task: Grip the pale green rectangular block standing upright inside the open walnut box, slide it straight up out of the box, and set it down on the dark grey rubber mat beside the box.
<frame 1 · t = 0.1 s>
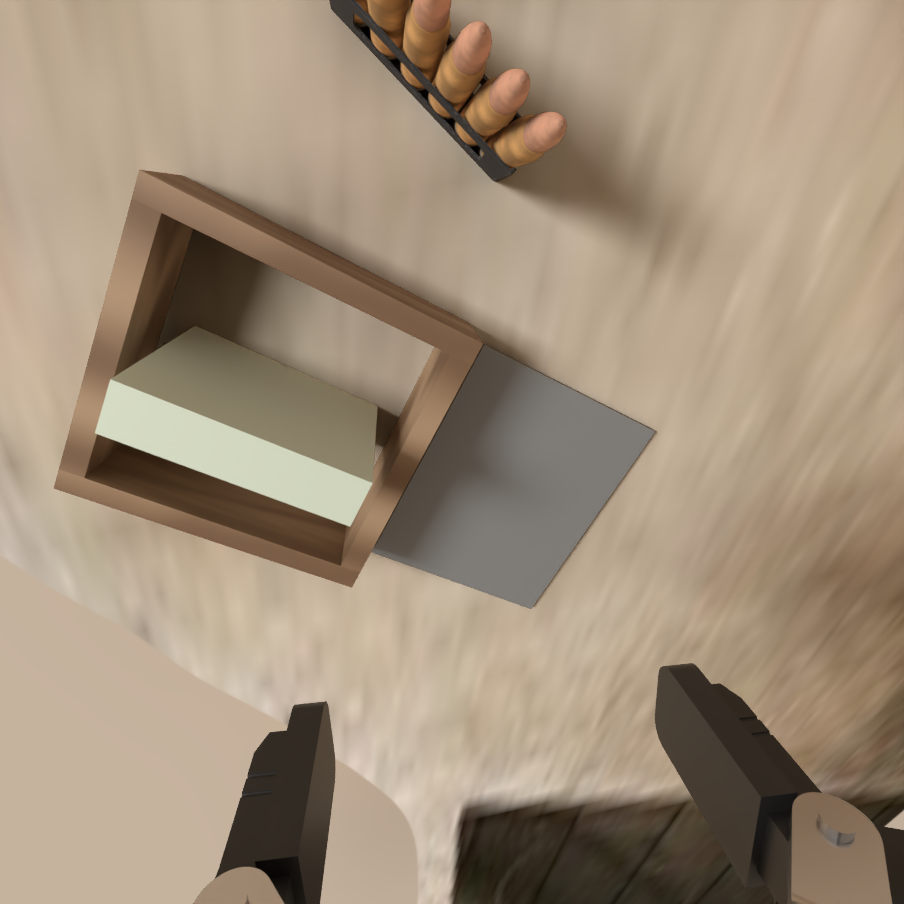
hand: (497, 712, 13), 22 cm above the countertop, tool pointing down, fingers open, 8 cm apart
rubber mat: (509, 491, 36), on the countertop
ammunition clip: (430, 86, 26), on the countertop
pale green rectangular block: (283, 386, 32), resting in walnut box
walnut box: (283, 386, 32), on the countertop
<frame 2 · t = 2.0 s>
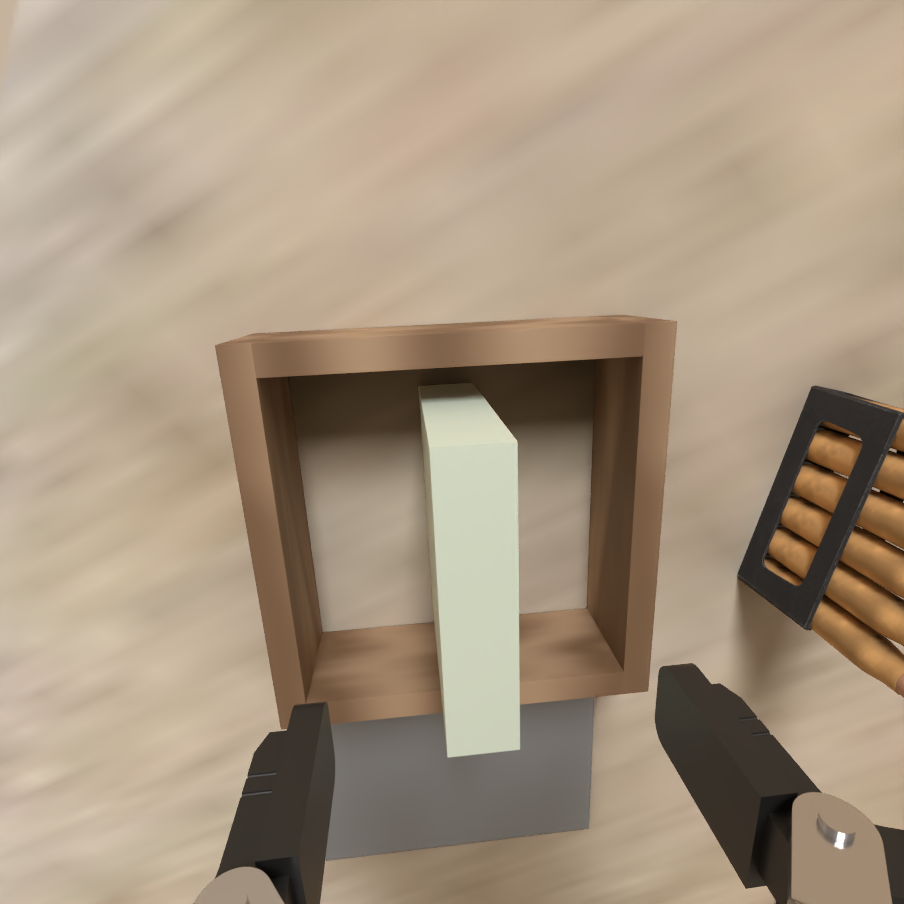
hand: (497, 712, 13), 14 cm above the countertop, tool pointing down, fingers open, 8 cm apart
rubber mat: (454, 755, 31), on the countertop
ammunition clip: (785, 487, 28), on the countertop
pale green rectangular block: (451, 495, 26), resting in walnut box
walnut box: (451, 496, 26), on the countertop
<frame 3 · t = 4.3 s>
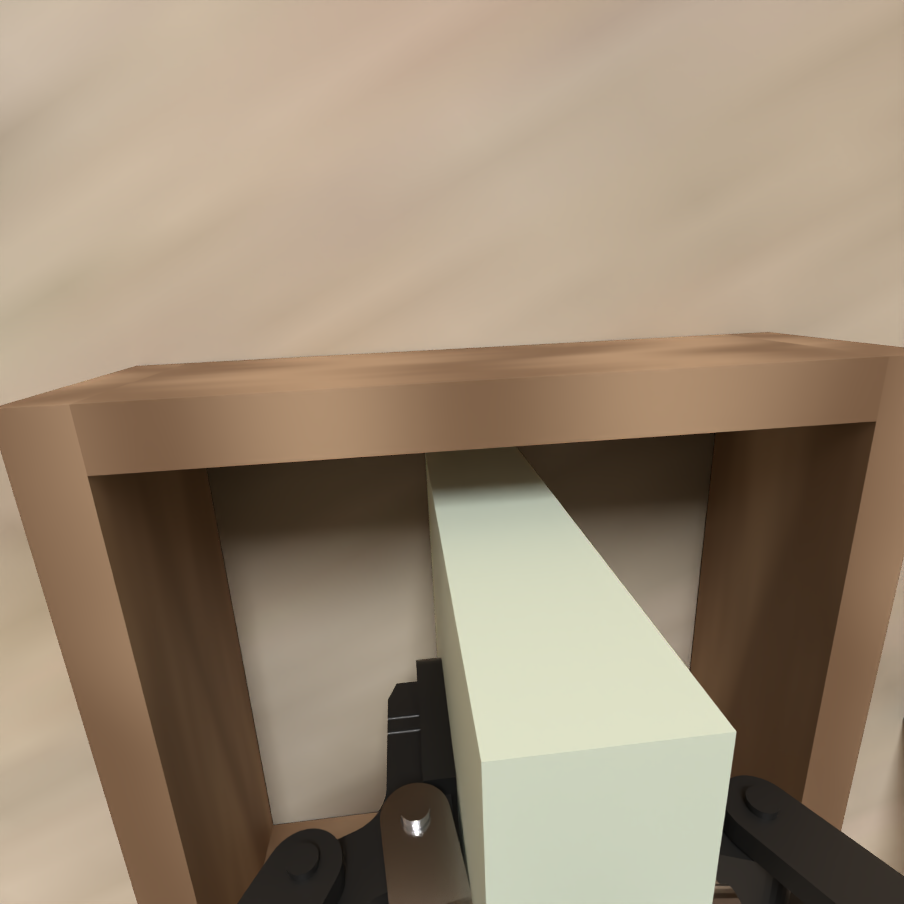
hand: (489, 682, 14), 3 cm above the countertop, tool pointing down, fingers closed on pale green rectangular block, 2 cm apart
pale green rectangular block: (476, 622, 16), resting in walnut box, touching gripper
walnut box: (476, 622, 16), on the countertop
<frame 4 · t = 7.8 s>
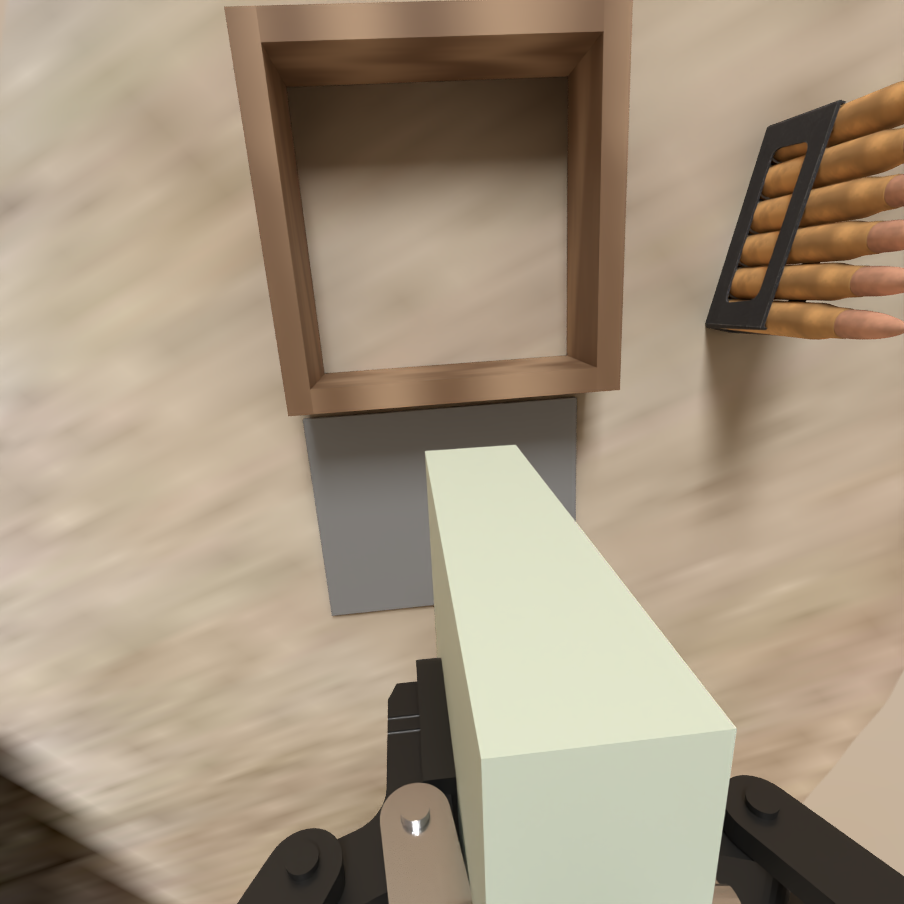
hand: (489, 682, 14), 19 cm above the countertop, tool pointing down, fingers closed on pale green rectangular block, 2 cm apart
rubber mat: (448, 509, 33), on the countertop
ammunition clip: (746, 235, 30), on the countertop
pale green rectangular block: (476, 621, 16), point 17 cm above the countertop, touching gripper
walnut box: (439, 233, 29), on the countertop
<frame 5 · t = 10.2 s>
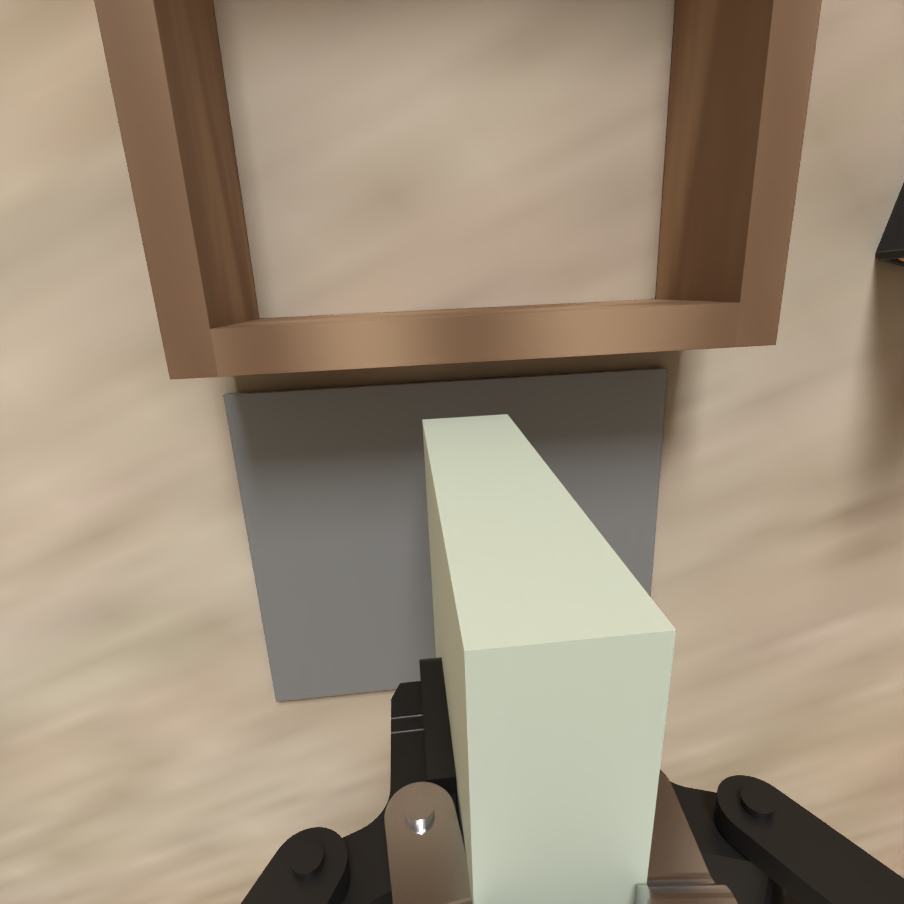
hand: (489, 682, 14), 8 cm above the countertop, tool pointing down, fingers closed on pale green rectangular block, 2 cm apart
rubber mat: (459, 541, 21), on the countertop
pale green rectangular block: (470, 580, 17), point 4 cm above the countertop, touching gripper
walnut box: (454, 76, 17), on the countertop
when the fingers open (4 cm above the countertop, at t = 11.7 s): pale green rectangular block stays where it is, resting on rubber mat.
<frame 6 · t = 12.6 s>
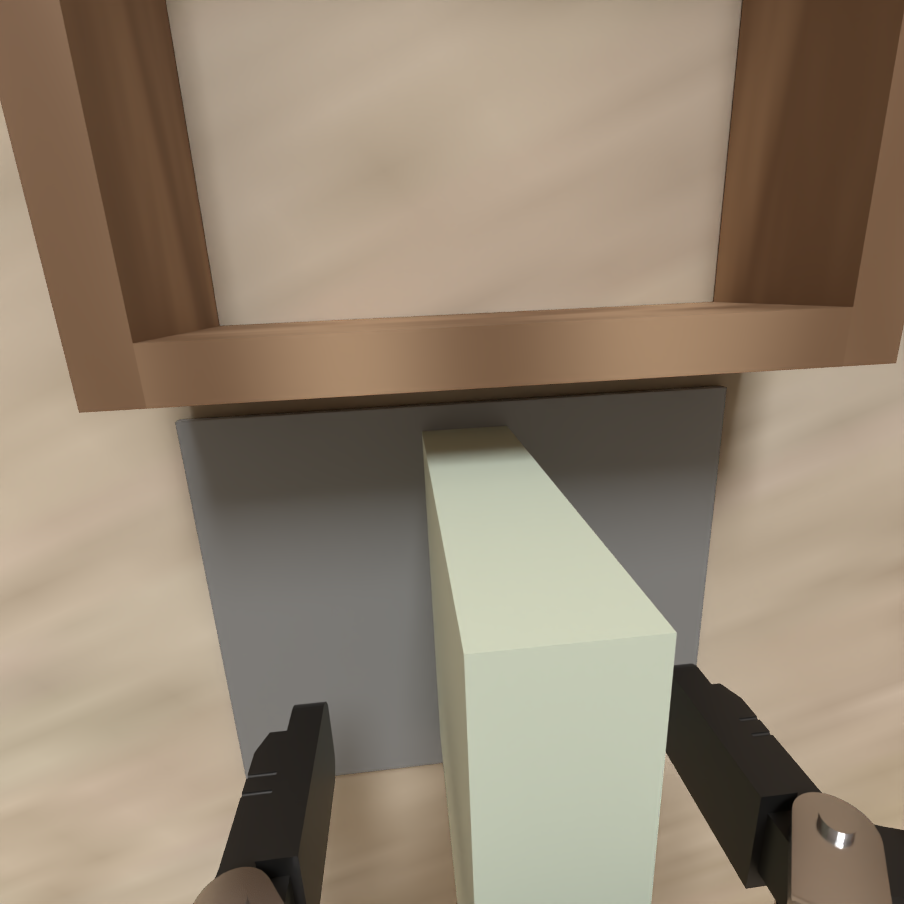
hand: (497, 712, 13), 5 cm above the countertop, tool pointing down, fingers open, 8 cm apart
rubber mat: (469, 595, 18), on the countertop
pale green rectangular block: (470, 593, 17), resting on rubber mat
walnut box: (467, 15, 13), on the countertop
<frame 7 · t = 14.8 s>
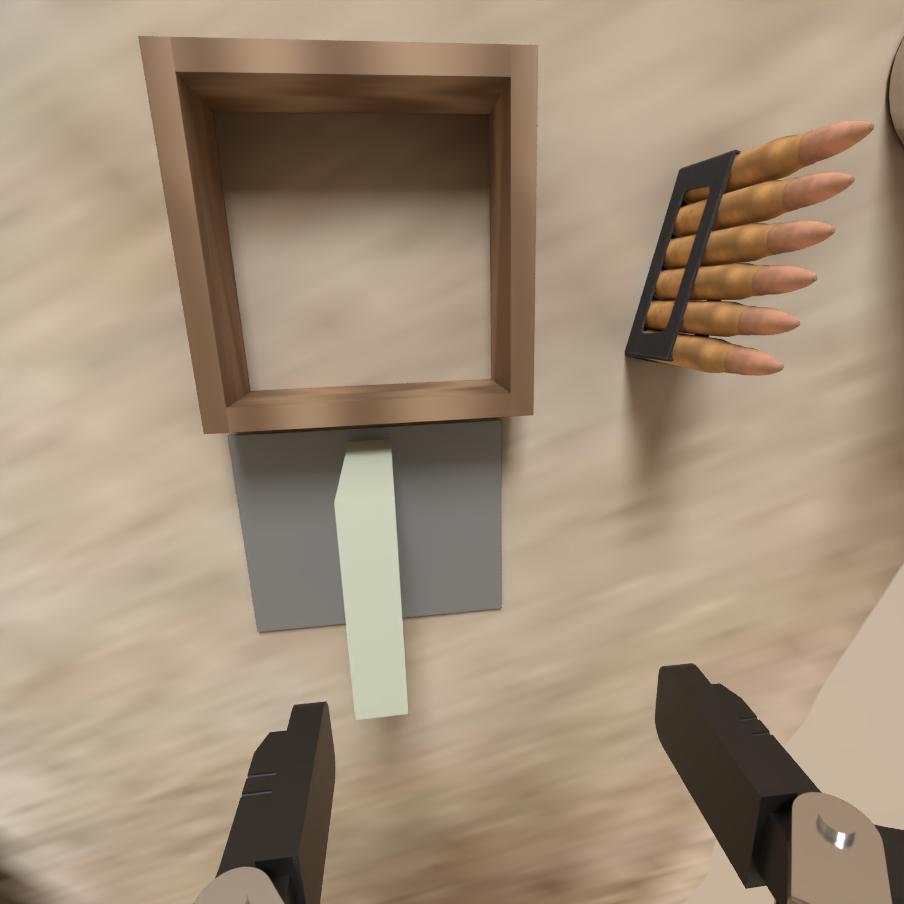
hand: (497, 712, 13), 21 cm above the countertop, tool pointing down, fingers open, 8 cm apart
rubber mat: (375, 527, 34), on the countertop
ammunition clip: (663, 269, 32), on the countertop
pale green rectangular block: (375, 525, 33), resting on rubber mat
walnut box: (364, 258, 29), on the countertop
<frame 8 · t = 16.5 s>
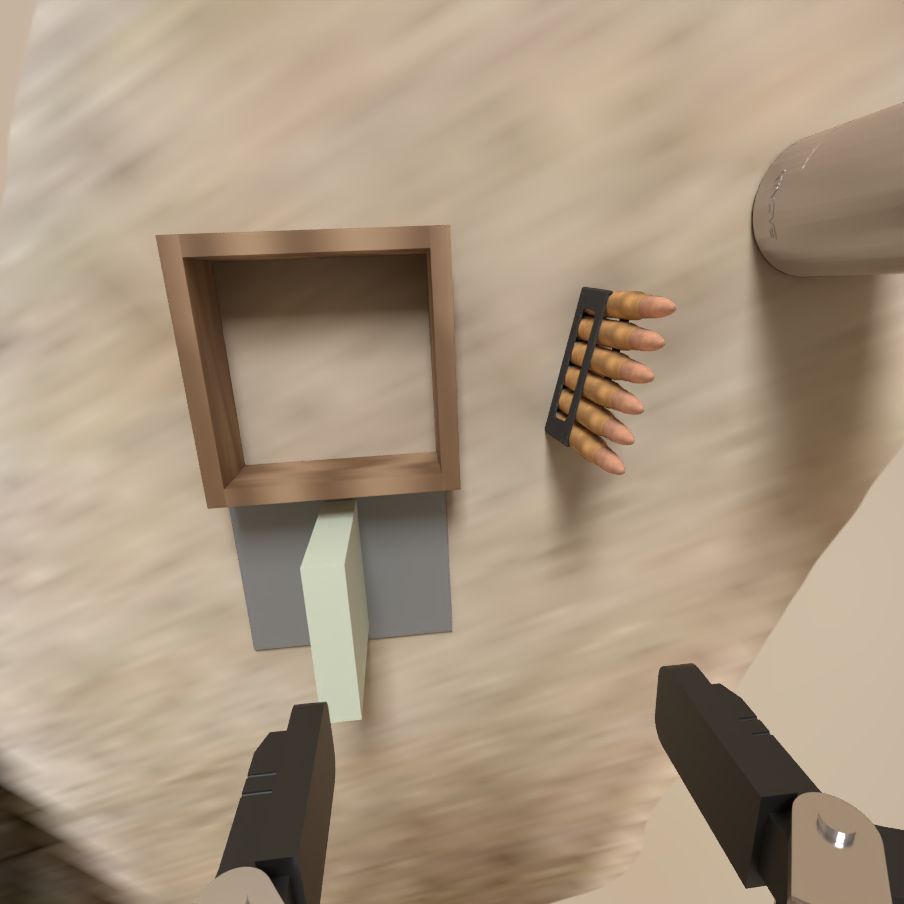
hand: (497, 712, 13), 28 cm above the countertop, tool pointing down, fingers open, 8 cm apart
rubber mat: (347, 567, 42), on the countertop
ammunition clip: (573, 363, 40), on the countertop
pale green rectangular block: (346, 566, 42), resting on rubber mat
walnut box: (331, 363, 38), on the countertop
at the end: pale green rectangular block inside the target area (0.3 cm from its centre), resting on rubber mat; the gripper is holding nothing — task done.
